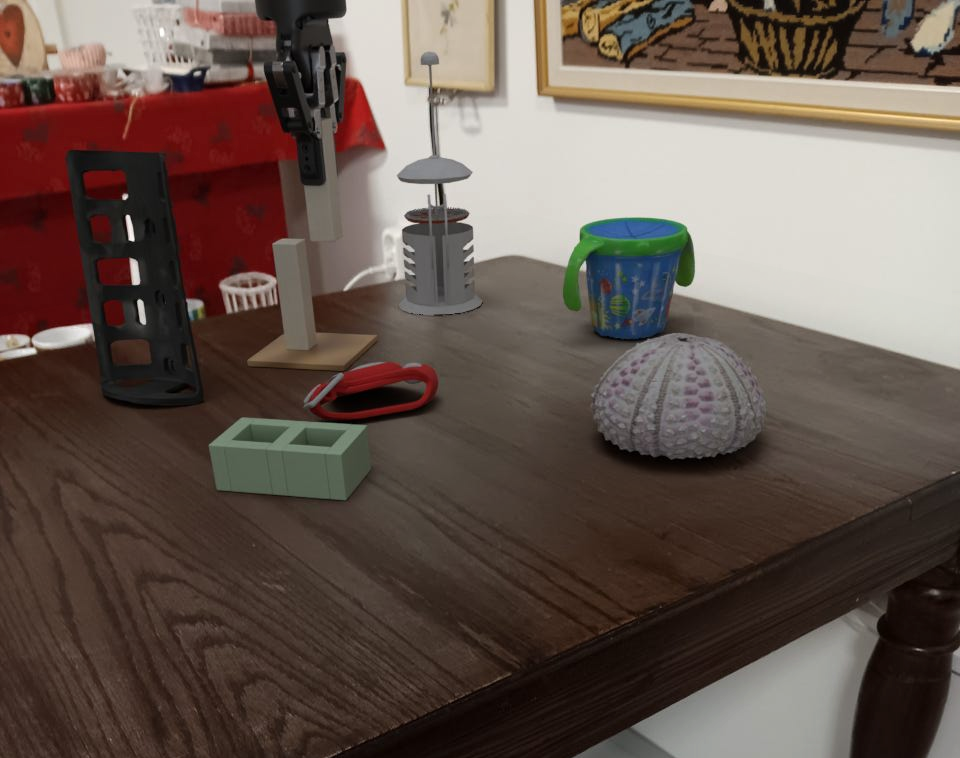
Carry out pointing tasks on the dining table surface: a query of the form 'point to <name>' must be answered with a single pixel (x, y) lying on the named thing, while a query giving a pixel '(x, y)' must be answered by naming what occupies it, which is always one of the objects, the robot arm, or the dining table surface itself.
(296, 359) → the coaster
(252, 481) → the peg rack
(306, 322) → the peg back
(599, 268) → the snack cup
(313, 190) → the peg front
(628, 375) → the sea urchin shell
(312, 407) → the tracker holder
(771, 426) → the dining table surface
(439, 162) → the french press
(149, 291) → the holder
